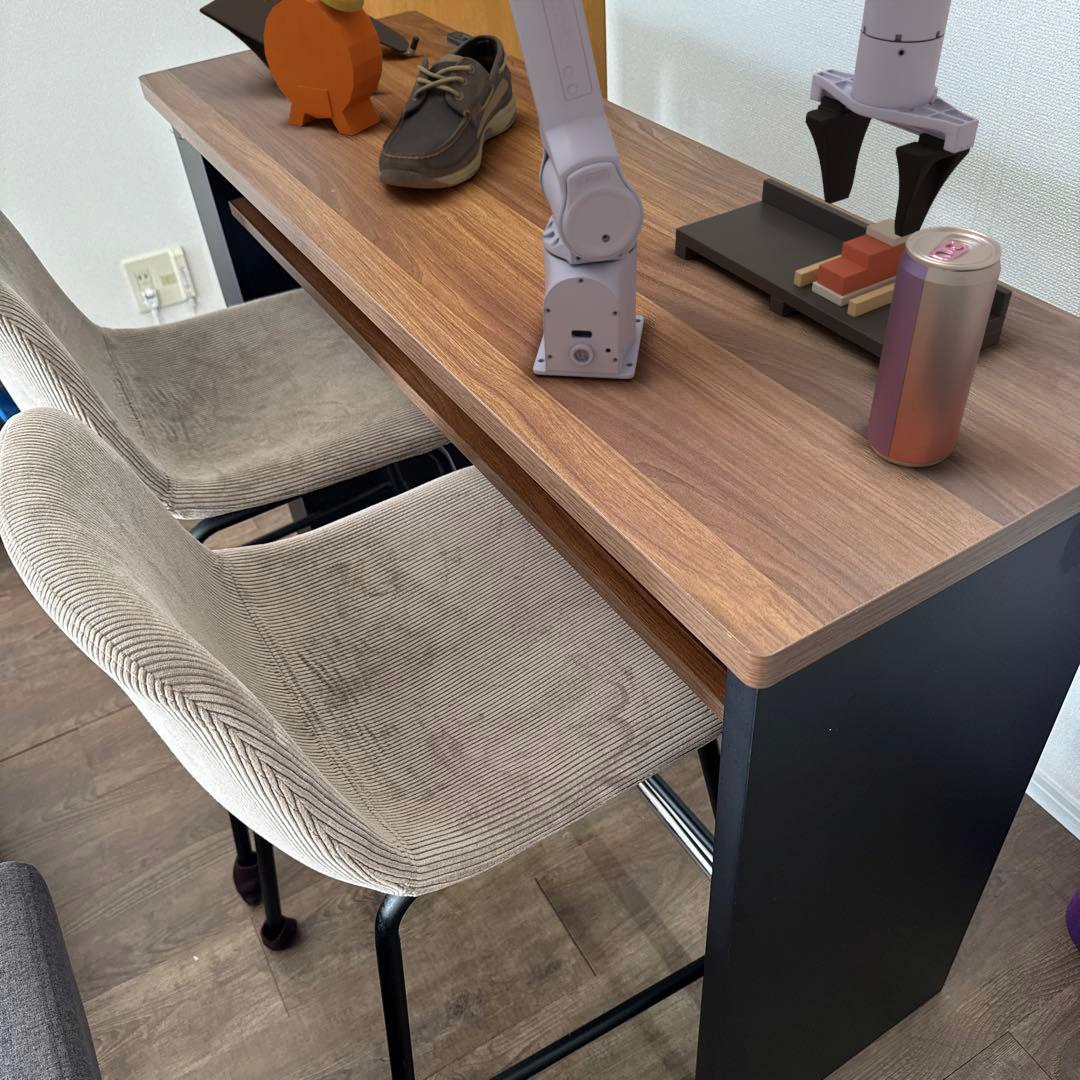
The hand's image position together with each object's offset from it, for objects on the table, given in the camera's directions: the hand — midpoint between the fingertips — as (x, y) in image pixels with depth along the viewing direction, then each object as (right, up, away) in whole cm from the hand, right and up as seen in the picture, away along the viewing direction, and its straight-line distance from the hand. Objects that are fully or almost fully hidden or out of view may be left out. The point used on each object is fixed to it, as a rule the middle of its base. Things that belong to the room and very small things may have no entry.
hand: (870, 215), depth 83 cm
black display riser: (-1, -4, +8) cm, 9 cm away
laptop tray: (-55, +38, +62) cm, 91 cm away
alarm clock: (-51, +26, +47) cm, 74 cm away
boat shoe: (-37, +18, +37) cm, 55 cm away
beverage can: (0, -19, -9) cm, 21 cm away
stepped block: (+1, -5, +4) cm, 6 cm away
